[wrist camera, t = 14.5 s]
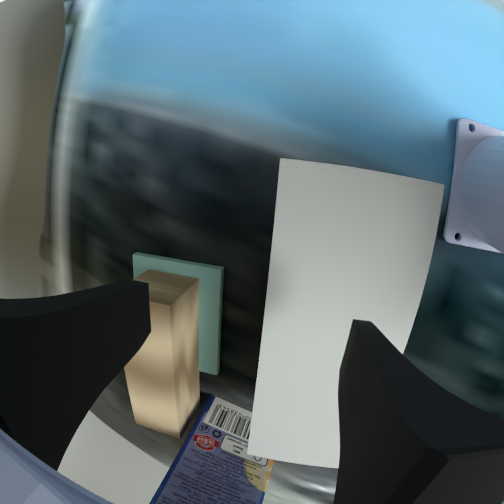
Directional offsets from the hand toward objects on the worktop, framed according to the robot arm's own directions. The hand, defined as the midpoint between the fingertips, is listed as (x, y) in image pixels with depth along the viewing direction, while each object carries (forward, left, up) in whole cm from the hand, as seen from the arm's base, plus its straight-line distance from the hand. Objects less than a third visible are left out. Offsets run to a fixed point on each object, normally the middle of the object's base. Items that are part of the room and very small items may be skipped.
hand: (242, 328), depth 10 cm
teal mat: (+7, +6, -10) cm, 14 cm away
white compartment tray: (-4, +3, -10) cm, 12 cm away
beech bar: (+7, +9, -10) cm, 15 cm away
